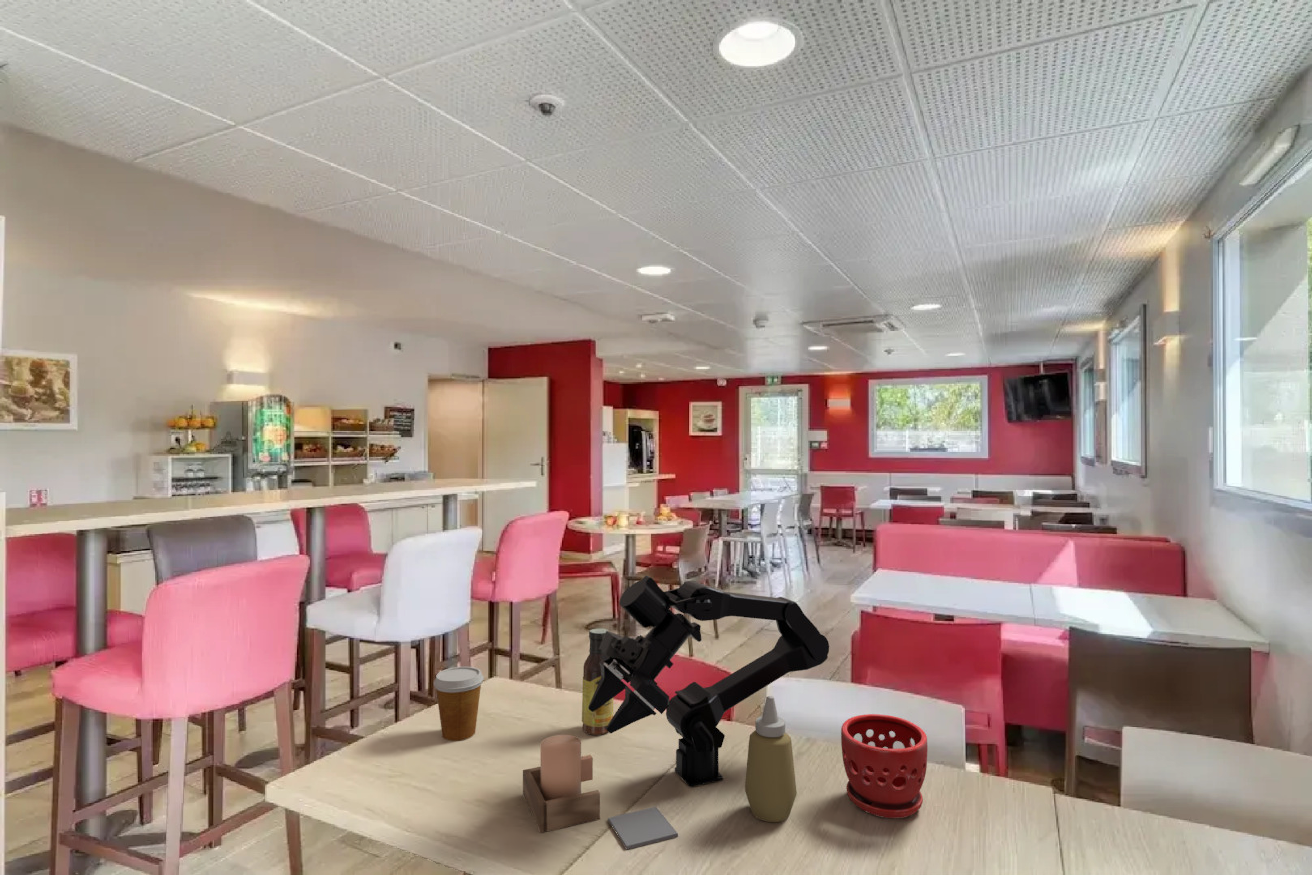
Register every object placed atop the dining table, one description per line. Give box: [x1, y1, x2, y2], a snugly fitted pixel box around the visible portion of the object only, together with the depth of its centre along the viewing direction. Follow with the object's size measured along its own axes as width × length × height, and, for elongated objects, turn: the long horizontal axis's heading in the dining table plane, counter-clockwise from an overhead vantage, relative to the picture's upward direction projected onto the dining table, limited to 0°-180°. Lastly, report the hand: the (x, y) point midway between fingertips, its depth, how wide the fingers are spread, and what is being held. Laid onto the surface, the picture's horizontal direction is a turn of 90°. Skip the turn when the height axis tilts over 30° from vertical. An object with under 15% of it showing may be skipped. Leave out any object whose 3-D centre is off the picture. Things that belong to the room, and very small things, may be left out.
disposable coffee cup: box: [433, 666, 485, 742], centre depth 135 cm, size 10×10×12 cm
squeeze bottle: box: [744, 695, 798, 823], centre depth 107 cm, size 8×8×18 cm
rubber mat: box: [607, 806, 679, 850], centre depth 102 cm, size 8×8×1 cm
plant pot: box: [840, 713, 929, 819], centre depth 109 cm, size 13×13×12 cm
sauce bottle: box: [581, 628, 614, 736], centre depth 137 cm, size 7×6×20 cm
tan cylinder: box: [540, 734, 594, 801], centre depth 109 cm, size 8×6×10 cm
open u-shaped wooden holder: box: [522, 766, 601, 834], centre depth 109 cm, size 9×12×4 cm
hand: (598, 720), depth 111 cm, fingers open, 9 cm apart
